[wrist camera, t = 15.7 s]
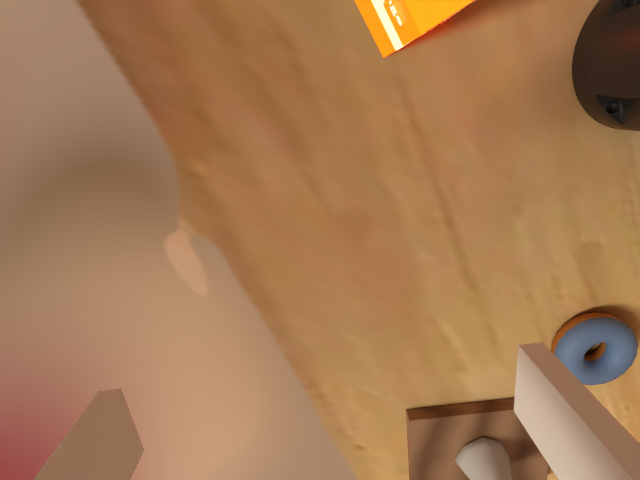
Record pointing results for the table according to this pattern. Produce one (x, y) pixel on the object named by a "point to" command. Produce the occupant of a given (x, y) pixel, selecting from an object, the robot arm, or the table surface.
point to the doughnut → (609, 355)
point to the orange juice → (404, 19)
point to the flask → (484, 460)
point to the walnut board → (468, 439)
